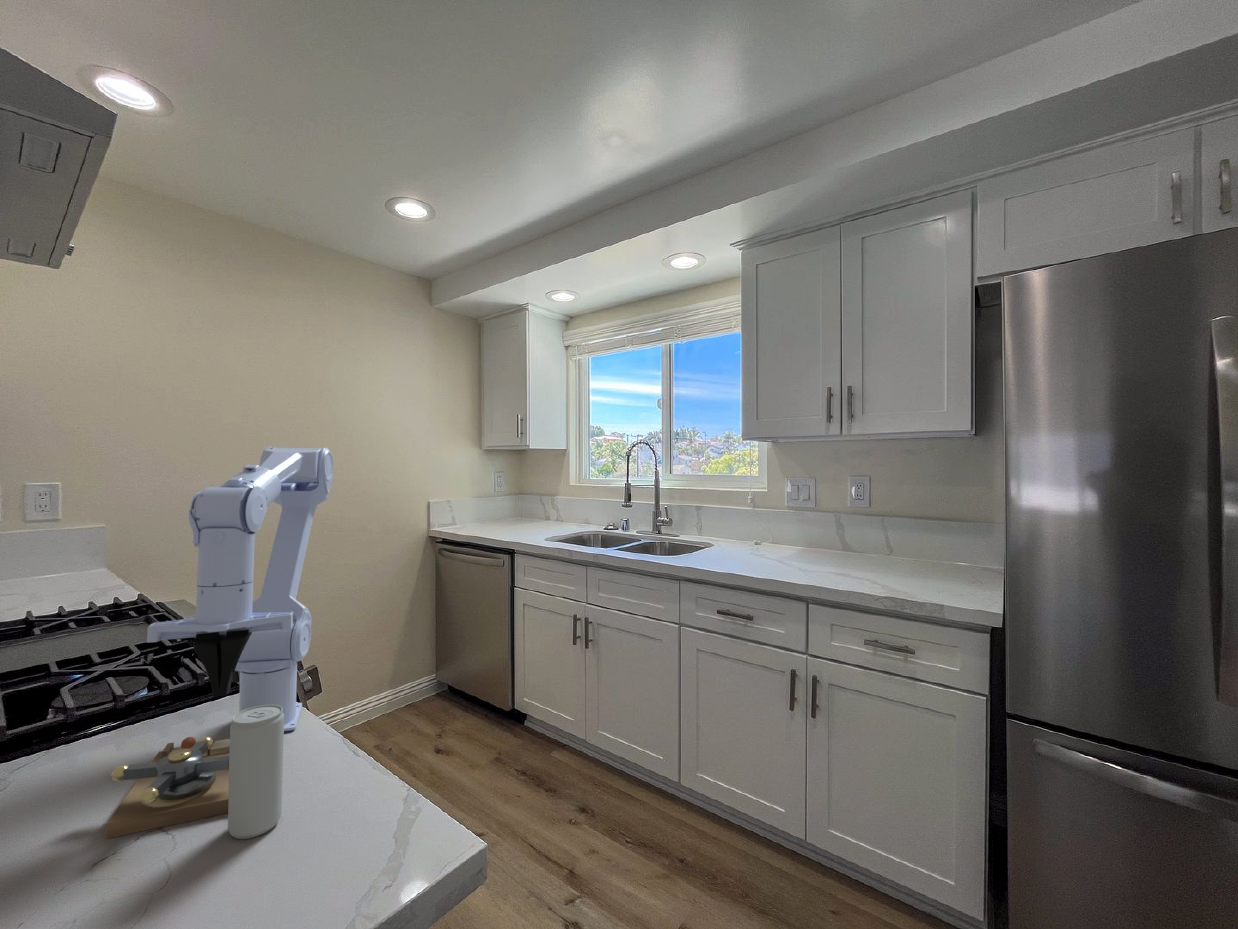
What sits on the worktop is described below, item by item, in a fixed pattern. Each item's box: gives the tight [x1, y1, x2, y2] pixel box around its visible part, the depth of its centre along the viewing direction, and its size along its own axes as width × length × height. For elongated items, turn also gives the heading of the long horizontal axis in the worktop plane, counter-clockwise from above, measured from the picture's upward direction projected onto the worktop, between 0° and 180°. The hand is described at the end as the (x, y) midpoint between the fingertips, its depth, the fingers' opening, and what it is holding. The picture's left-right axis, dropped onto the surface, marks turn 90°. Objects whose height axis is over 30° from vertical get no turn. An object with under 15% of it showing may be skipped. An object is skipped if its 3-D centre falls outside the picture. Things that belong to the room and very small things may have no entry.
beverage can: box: [227, 705, 285, 840], centre depth 58 cm, size 5×5×12 cm
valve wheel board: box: [104, 736, 230, 839], centre depth 65 cm, size 16×12×4 cm
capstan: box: [111, 736, 229, 805], centre depth 61 cm, size 13×13×4 cm
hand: (221, 693), depth 67 cm, fingers closed
